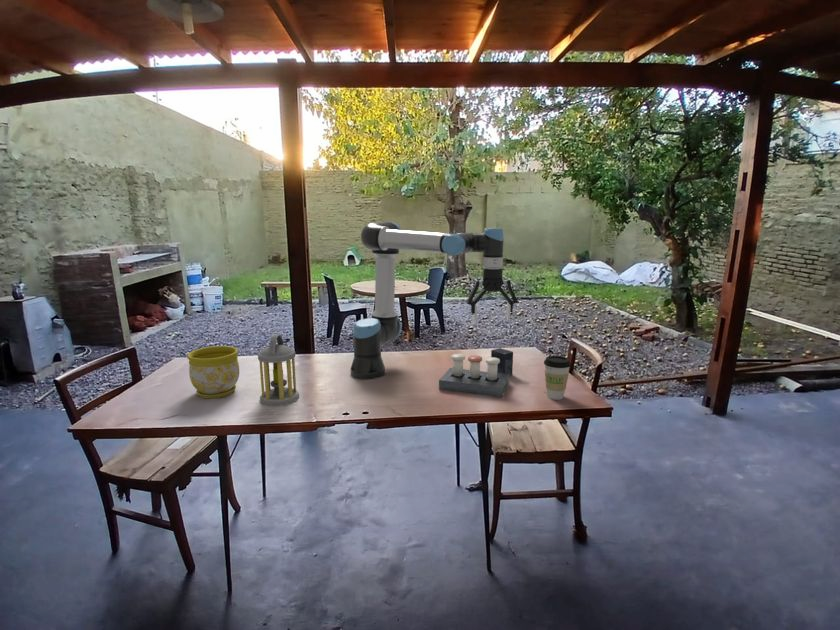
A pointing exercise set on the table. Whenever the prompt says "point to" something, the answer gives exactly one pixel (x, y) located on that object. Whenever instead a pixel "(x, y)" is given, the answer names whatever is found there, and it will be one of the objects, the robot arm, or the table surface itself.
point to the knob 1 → (458, 364)
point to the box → (503, 360)
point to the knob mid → (475, 366)
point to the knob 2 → (492, 367)
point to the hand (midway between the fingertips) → (491, 321)
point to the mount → (474, 383)
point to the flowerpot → (214, 370)
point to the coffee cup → (556, 376)
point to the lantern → (277, 373)
